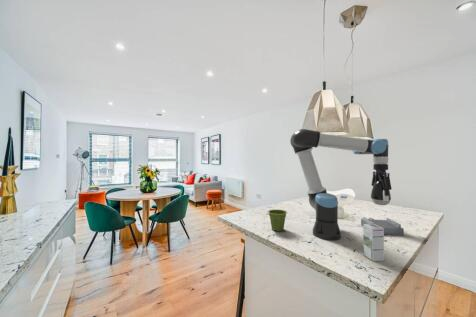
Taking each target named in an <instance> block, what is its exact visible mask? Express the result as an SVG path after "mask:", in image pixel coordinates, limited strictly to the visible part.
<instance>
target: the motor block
mask: <svg viewBox="0 0 476 317" xmlns="http://www.w3.org/2000/svg"><path fill="white" fill-rule="evenodd" d="M363 224H375V225H377V226H380V227H382V228H384V236H385V235H387V236H388V235H389V236H403V237H404V235H405V234H404V230H405V228H404V227H402V224H401V223H399V222H396V221H394V220H392V219H390V218H388V217H387V218H386V219H374V218H373V217H369V218H367V217H365V216H364V217H362V218H361V219H360V225H361V226H362V227H363Z"/></svg>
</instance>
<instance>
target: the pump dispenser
mask: <svg viewBox="0 0 476 317" xmlns="http://www.w3.org/2000/svg"><path fill="white" fill-rule="evenodd" d="M383 189H384V188H383V185H382V181H381V180H378V181H376V183H375V184H374V186H372V189H371V193H370V198H371V201H372V203H374V204H375V205H377V206H387V205H389V204H390V202H391V200H392V199H391V198H392V196H391V190H389V201H383Z"/></svg>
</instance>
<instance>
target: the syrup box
mask: <svg viewBox="0 0 476 317" xmlns="http://www.w3.org/2000/svg"><path fill="white" fill-rule="evenodd" d="M362 233H363V235H362V236H363V238H362V240H363V242H362V243H363V244H362V245H363V246H362V247H363V252H362V253H363V256H365V257H366V258H368V260H370V261H372V262H384V261H385V235H384V228H382V227H380V226H377V225H375V224H363V226H362Z"/></svg>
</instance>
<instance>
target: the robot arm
mask: <svg viewBox="0 0 476 317" xmlns="http://www.w3.org/2000/svg"><path fill="white" fill-rule="evenodd" d="M289 141H290V142H289V143H290V145H291V147H292V149H293V151H294V153H295V155H297V156H298V160H299V163H300V166H301V169H302V171H303V175H304V178H305V180H306V181H305V182H306V184H307V188H308V190H307V196H308V202H309V203H308V204H309V205H310V206H311V208H313V209H314V210H315V221H314V224H313V228H312V235H313V236H315V237H316V238H320V239H323V240H326V241H327V240H329V241H338V240H340V239H342V232H341V229H340V227H339V222H338V217H339V213H338V211H339V210H338V209H339V205H338V204H339V201H338V197H337V196H336V195H335V194H332V193H328V192H327V188H326V187H324V186H323V185H322V181H321V178H320V175H319V171H318V169H317V166H316V162H315V160H314V156H313V153H312V150H313V148H318V147H322V148H328V149H329V148H331V149H335V150H346V151H351V152H353V154H354V155H373V158H372V160H373V165H372V167H373V170H374V171H373V172H372V179H371V186H372V187H373V186H374V184H375V183H376V181H378V180H381V181H382V185H383V188H384V189H383V201H389V191H391V190H392V184H391V180H390V178H391V177H390V172H387V171H388V170H389V140H388V139H387V138H376V139H366V138H357V137H351V136H342V135H338V134H337V135H336V134H335V135H334V134H327V133H321V131H318V130H312V129H308V128H307V129H306V128H300V129H298V130H296V131H295V132H294V133H293V134H292V135H291V136H290V140H289Z"/></svg>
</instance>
